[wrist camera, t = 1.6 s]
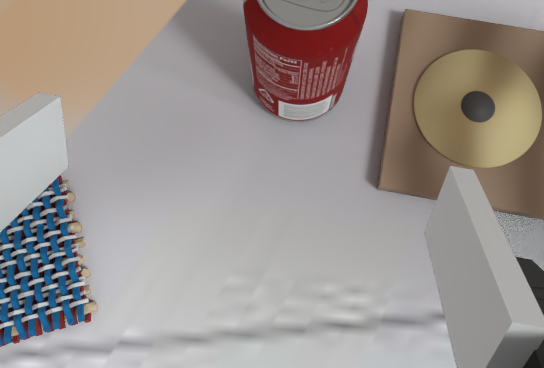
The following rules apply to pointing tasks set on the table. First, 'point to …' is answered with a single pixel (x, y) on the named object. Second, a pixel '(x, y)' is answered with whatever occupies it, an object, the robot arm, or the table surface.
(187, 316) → the table surface
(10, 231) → the woven mat
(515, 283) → the robot arm
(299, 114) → the soda can
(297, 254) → the table surface
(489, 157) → the hole plate
